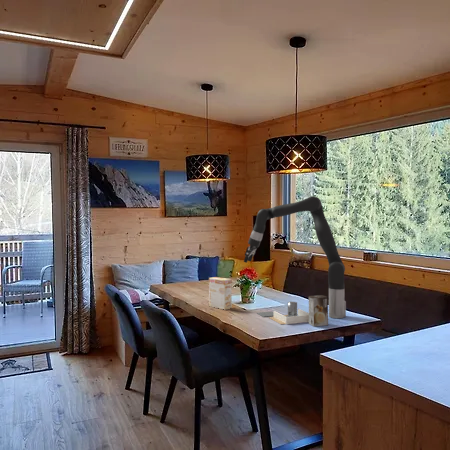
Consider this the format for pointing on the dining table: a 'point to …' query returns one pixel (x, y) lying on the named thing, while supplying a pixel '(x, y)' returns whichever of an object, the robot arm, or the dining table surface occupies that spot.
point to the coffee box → (318, 310)
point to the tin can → (292, 309)
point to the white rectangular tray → (291, 318)
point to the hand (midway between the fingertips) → (247, 261)
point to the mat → (266, 314)
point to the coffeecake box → (220, 293)
